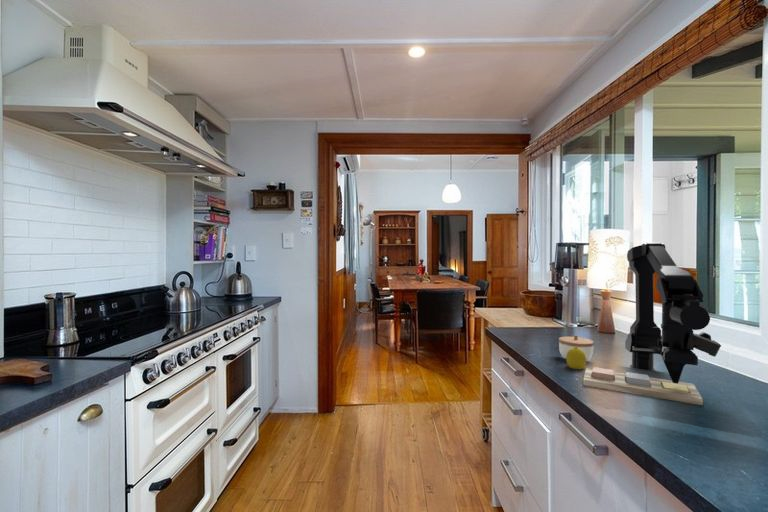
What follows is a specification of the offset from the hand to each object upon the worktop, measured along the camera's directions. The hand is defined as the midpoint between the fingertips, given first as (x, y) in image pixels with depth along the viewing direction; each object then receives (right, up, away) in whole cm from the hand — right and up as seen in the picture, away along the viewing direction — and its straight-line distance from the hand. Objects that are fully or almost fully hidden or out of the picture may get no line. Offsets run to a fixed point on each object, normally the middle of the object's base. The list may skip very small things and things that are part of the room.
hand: (675, 382), depth 94 cm
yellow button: (0, -4, 0) cm, 4 cm away
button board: (-7, -4, +4) cm, 9 cm away
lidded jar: (-9, -4, +32) cm, 34 cm away
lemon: (-14, -4, +21) cm, 26 cm away
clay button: (-14, -3, +9) cm, 16 cm away
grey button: (-7, -3, +4) cm, 8 cm away
